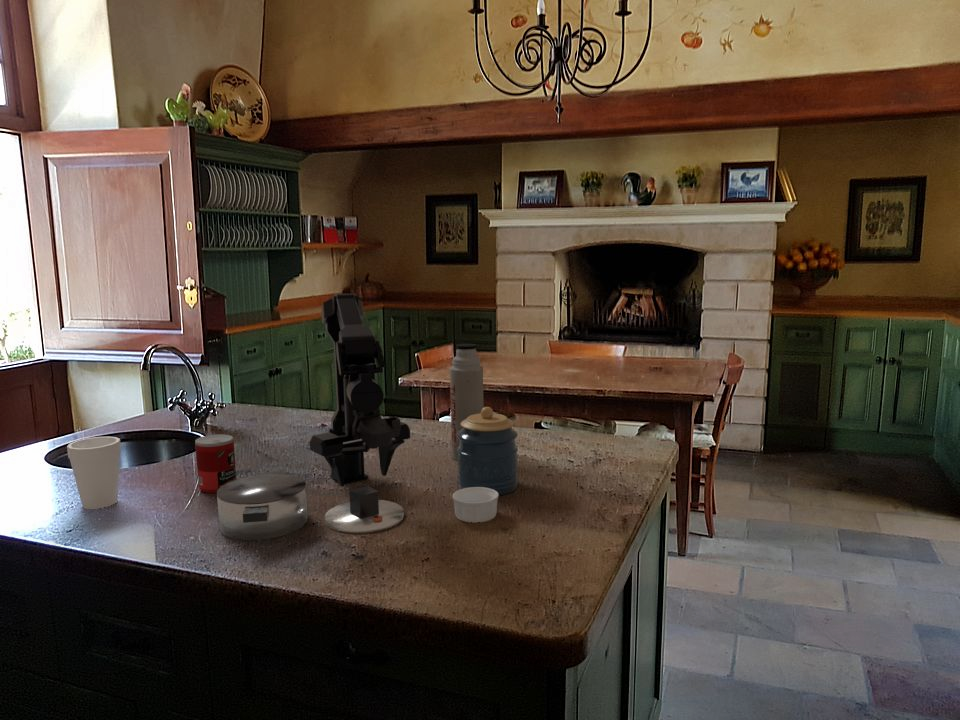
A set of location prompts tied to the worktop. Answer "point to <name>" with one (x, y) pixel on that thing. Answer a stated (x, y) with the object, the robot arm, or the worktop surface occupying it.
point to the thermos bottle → (464, 389)
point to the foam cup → (96, 470)
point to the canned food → (215, 461)
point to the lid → (364, 513)
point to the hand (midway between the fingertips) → (363, 480)
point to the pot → (262, 506)
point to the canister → (487, 452)
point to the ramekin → (475, 504)
